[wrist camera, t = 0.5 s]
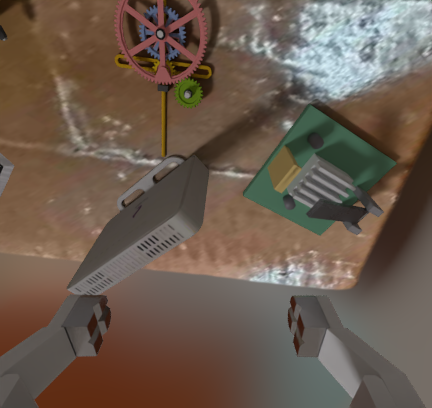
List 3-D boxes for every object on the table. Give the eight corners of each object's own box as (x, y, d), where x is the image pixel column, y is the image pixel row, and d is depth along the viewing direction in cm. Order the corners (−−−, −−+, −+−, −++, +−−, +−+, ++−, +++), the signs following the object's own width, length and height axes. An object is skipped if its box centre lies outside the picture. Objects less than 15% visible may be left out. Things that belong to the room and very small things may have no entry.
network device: (189, 139, 46) (168, 198, 30) (219, 173, 50) (215, 243, 33) (102, 210, 56) (50, 284, 39) (133, 234, 60) (97, 312, 43)
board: (308, 103, 42) (327, 118, 35) (393, 160, 47) (425, 185, 40) (242, 192, 52) (245, 220, 45) (318, 232, 57) (332, 262, 50)
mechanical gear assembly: (223, -61, 32) (105, -76, 32) (221, -73, 29) (89, -89, 29) (204, 159, 49) (126, 149, 49) (202, 168, 45) (118, 158, 45)
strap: (320, 197, 36) (324, 202, 35) (367, 207, 46) (371, 211, 46) (304, 213, 37) (309, 218, 37) (353, 220, 48) (357, 223, 47)
